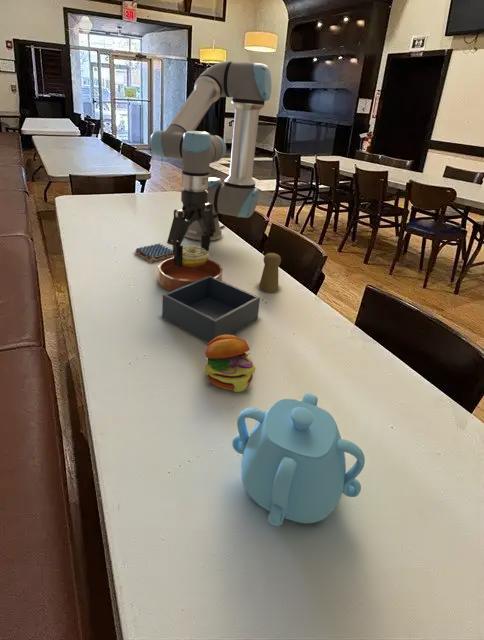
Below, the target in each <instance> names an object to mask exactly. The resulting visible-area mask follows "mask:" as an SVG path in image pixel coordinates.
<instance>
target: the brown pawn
mask: <svg viewBox="0 0 484 640" xmlns="http://www.w3.org/2000/svg"><path fill="white" fill-rule="evenodd" d="M281 262H282V258H281V255H279V254H277V253H275V252H268V253H266V254H265V255H264V256H263V263H264V266H263V270H262V272H261V276H260V280H259V285H258V289H260V291H263V292H266V293H275V292H278V291H279V267H280V265H281Z"/></svg>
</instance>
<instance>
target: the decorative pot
mask: <svg viewBox="0 0 484 640" xmlns="http://www.w3.org/2000/svg"><path fill="white" fill-rule="evenodd" d="M318 400H319V398H318V396H317V395H315V394H313V393H309V392H307V393H305V394H304V395H303V397H302V400H298V399H293V398H283V399H280V400H278V401H276V402H275V403H274V404H273V405H272V406H271V407H270V408H269V409H268V410H267V411H266V412H264V411H263V410H261V409H259V408H256V407H247V408H244V409H243V410H242V411H240V413H239V414H238V416H237V421H236V425H237V432H238V434H236V435H235V436H234V437H233V439H232V441H231V442H232V443H231V444H232V448H233V449H234V451H235V452H236V453H238V454H239V455H242V459H241V467H240V468H241V469H240V475H241V480H242V485H243V487H244V489H245V491H246V493H247V494H248V496H249V497H250V498H251V499H252V500H253V501H254V503H256V504H257V505H259V506H260V507H262V508H263V509H264V510H266V511H268V512H269V514H268V517H267V521H268V522H269V524H271V525H272V526H273V527H280V526H281V525H282V524H283V523H284V521H285V520H289V521H292V522H294V523H298V524H299V523H300V524H315V523H318V522H320V521H323V520H325V519H326V518H327V517H329V516H330V515H331V514H332V513H333V511H334V510H335V509H336V508H337V506H338V505H339V502H340V501H341V498H342V496H343V495H344V496H346V497H349V498H355V497H358V496H359V495H360V493H361V492H362V485H361V483H360V481H359V480H358V479H357V477H358V476H360V474H361V472H362V471H363V469H364V467H365V462H366V459H365V454H364V452H363V450H362V449H361V448H360V446H358V444H356V443H355V442H352V441H351V440H348V439H344V438H342V436H341V433H340V430H339V427H338V425H337V422H336V420H335V418H334V417H333V416H332V414H331V413H330V412H329V411H327V410H325V409H324V408H321V407H319V406H318ZM246 419H252V420H254V421H257V422H256V424H255V425H254V427H253V429H252V430H251V433H250V434H249V431H248V427H247V423H246ZM345 453H347V454H349V455H351V456H353V457H354V458H355V459H356V461H355V463H354V464H353V465H352V467H350V468H349V469H348V471H347V468H346V467H347V465H346V455H345Z"/></svg>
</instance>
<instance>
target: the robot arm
mask: <svg viewBox="0 0 484 640" xmlns="http://www.w3.org/2000/svg"><path fill="white" fill-rule="evenodd" d="M271 95H272V75H271V71H270V68H269V66H268V65H267V64H265V63H259V62H248V61H247V62H246V61H230V60H229V61H228V60H224V61H221V62H218V63H215V64H213V65H211V66H210V67H208V68H207V69H205V70H204V71H203V72H202V73H201V74H200V75H199V76H198V78H197V79H196V80H195V82H194V86H193V90H192V91H191V93H190V94H189V96H188V97H187V99H185V101H184V103H183V104H182V106H181V107H180V108H179V110H178V112H177V113H176V115H175V116H174V117H173V119H172V120H171V121H170V123H169V124H168V126H167V127H166V129H165V130H163V129H161V130H155V131H153V133H152V134H151V135H150V141H149V145H150V149H151V150H150V151H151V152H152V153H153V155H155V156H158V157H163V158H170V159H179V160H181V162H182V163H181V165H182V167H181V184H180V185H181V188H182V189H181V191H180V193H181V194H180V201H181V203H182V208H181V209H174V210H173V219H172V223H171V226H170V229H169V234H168V238H167V244H168V245H170V246H172V250H173V256H172V257H173V258H174V265H176V266H178V267H182V255H183V245H182V244H183V241H184V239H185V238H187V239H189V240H192V241H196V242H200V247H202V248H204V249H205V250H207V251H208V252H209V253H210V245H211V242H214V241H218V240H220V239H221V238H222V229H223V228H225V227H226V225H222V226H221V225H220V221H219V214H220V215H225V216H226V215H227V216H233V217H237V218H245V219H248V218H250V217H251V216H253V214H254V213H255V210H256V208H257V205H258V202H259V197H260V189H259V188H257V187H256V182H255V180H254V179H253V172H254V162H255V153H256V145H257V137H258V136H257V135H258V125H259V117H260V111H261V109H262V108H264V107H265V102H267V101H269V100H270V99H271ZM220 98H231V105H232V106H233V107H234V120H233V129H232V142H231V153H230V162H229V163H230V164H229V175H228V176H227V177H226V178H225V179H224V183H223V182H222V179H221V178H219V177H209V175H210V165H211V164H212V163H217V162H219V161H220V160H221V159H223V158H224V156H225V155H226V152H227V145H226V142H225V140H224V138H222V137H221V136H219V135H213V134H211V133H210V132H207V131H202V130H201V131H199V130H196V129H197V128H198V127H199V125H200V123H201V122H202V120H203V118H204V117H205V115H206V114H207V112H208V111H209V109H210V108H211V106H212V104H213V103H215V102H217V101H218V100H219V99H220Z"/></svg>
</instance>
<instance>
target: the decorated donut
mask: <svg viewBox="0 0 484 640" xmlns="http://www.w3.org/2000/svg"><path fill="white" fill-rule="evenodd" d="M182 246H183V245H182ZM210 258H211V254H210V251H209V252H208V251H207V250H205V249H204V248H202V247H201V246H199V245H184V246H183V255H182V265H184V266H189V267H195V266H201V265H203V264H205V263H206V262H207V260H208V259H210Z"/></svg>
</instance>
